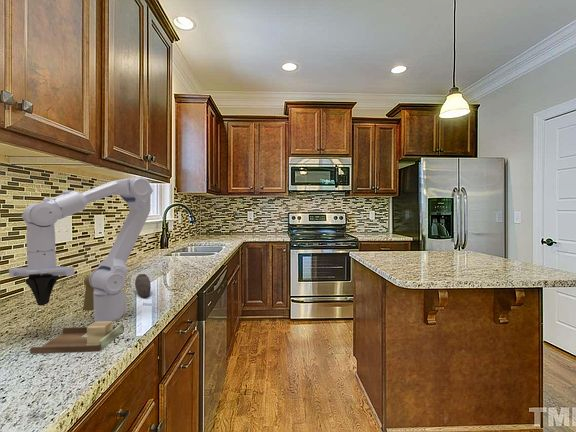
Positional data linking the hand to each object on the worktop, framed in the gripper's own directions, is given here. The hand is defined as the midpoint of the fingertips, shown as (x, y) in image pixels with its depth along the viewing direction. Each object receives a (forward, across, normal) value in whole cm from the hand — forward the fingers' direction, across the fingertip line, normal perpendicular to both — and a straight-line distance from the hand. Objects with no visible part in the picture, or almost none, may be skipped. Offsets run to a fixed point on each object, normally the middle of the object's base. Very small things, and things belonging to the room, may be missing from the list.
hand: (43, 304), depth 81 cm
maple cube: (+8, +16, -5) cm, 19 cm away
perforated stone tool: (+10, +8, +42) cm, 44 cm away
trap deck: (+9, +12, -4) cm, 16 cm away
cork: (+10, -2, +27) cm, 29 cm away
